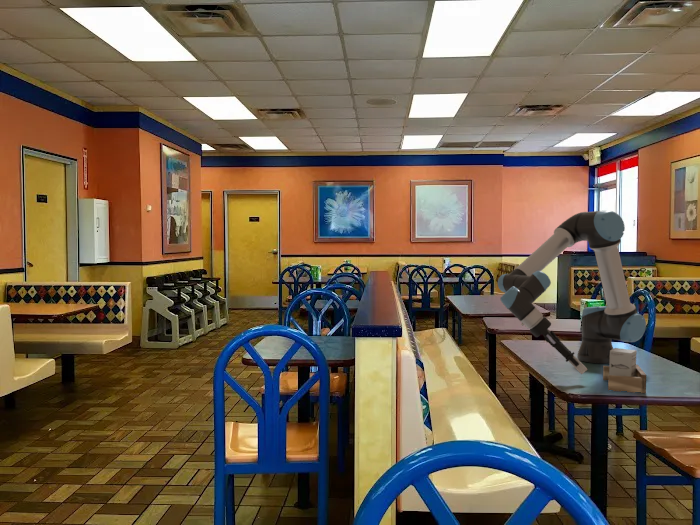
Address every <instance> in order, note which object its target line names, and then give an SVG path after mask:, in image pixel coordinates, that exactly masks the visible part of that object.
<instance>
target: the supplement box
mask: <svg viewBox="0 0 700 525" xmlns="http://www.w3.org/2000/svg"><path fill="white" fill-rule="evenodd" d="M637 353H638V352H637V350H635V349H627V348H619V347H613V349H612V350H610V363H608V364H609V365H608V366H609V375H614V376H630V377H636V364H637Z"/></svg>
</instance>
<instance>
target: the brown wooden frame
mask: <svg viewBox="0 0 700 525" xmlns="http://www.w3.org/2000/svg"><path fill="white" fill-rule="evenodd" d="M602 367H603V369H602V373H603V374H602V380H603V381H607V384H608V385H607V390H608V391H609V390H613V391H612V392H621V391H627V392H626V393H635V392H641V393H640V394H647V373H646V372H645V371H644V370H643V369H642V368H641V366H639V364H637V363H636V377H630V376H614V375H609V365H603V366H602Z"/></svg>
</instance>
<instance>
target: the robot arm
mask: <svg viewBox="0 0 700 525" xmlns="http://www.w3.org/2000/svg"><path fill="white" fill-rule="evenodd" d="M625 227H626V226H625V223H624V219H623V217H621V215H620V214H619V213H617V212H615V211H612V210H598V211H597V210H596V211H595V210H594V211H582V212H578V213H576V214H574V215H571V216H570V217H569V218H567V219H566V220H565V221H563V222H562V223H561V224H559V225H558V226H557V227H556V228H555V229H554V230H553V234H552V235H551V236H549V238H548V239H547V240H545V241H544V242H543V243H542V244H541V245H540V246H539V247H537V249H535V250H534V252H532V253H531V254H530V255H529V256H528V257H526V258H525V259H524V260H523V262H521V263H520V264H519V265H518V266H517V267H516V268H514V269H513V270H512V271H511V272H510V273H505V274H500V276H499V278H498V279H497V287H498V289H499V290H500V291H501V292H502V293H504V294H502V295H501V297H500V301H501V303H502V305H504V306H505V308H506V309H507V310H509V312H510V313H511V314H512V315H513V316H514V317H515V318H517V320H518V321H519V322H521V324H520V325H521V326H524V327H525V328H527V329H528V330H529V332H530V333H531V334H532V335H533V336H534V337H535V338H538V337H540V336H541V335H542V336H543V340H544V341H545V342H546V343H548V344H549V345H550V346H551V347H552V348H554V349H555V350H556V351H557V352H558V353H559V354H560V355H561V356H563V358H564V359H565V362H567V363H568V362H569V364H571V366H573V368H575V370H577V371H578V372H579V373H580V374H581V375H583V374H584V373H585V372H587V371H588V368H587V367H586V365H584V364H583V363H582V362H585V363H590V364H591V363H592V364H599V365H600V364H603V365H605V364H609V363H610V350H612V349H614V346H613V342H612V340H615V341H620V342H623V343H635V342H637V341H640V339H641V338H642V337H643V336H644V334H645V331H646V329H647V322H646V321H647V320H646V318H645V316H643V315H642V314H640V313H638V312H637V308H636V305H635V304H633V303H631V299H630V297H629V296H630V295H629V291H628V286H627V283H626V278H625V273H624V269H623V265H622V260H621V256H620V252H619V251H620V250H619V245H620V244H621V243H622V241H621V240H622V238H623V237H624V234H625V233H624V232H625V231H626V228H625ZM583 241H585V242H586V241H587V243H588V248H589V249H590V250H592V251H594V254H595V260H596V263H597V268H598V273H599V278H600V280H601V281H600V282H601V285H602V289H603V294H604V299H605V302H606V303H605V304H606V306H603V305H602V306H588V307H587V306H586V307H584V308H583V309H582V313H581V314H582V315H581V343H580V346H579V348H578V352H577V357H576V356H575V352H574V351H573V352H572V351H571V350H569V349H568V348H567V346H566V345H565V344H564V343H563V341H561V340H560V338H559V337H558V335H556V333H555V332H554V331H553V330H551V331H550V330H549V328H550V327H551V326H552V322H551V321H550V320H549V319H548V318H547V317H545V316H544V314H543V313H542V312H541V311H540V310H539V309H538V308H537V307H536V306H535V305H534V304H533V303H534V302H535V301H536V300H537V299H539V297H540V296H542V295H543V294H544V293H545V292H546V291H547V289H548V288H549V287H550V286H551V283H552V282H551V281H552V280H551V279H550V277H549V276H548V274H546V273H545V272H543V271H544V269H545V268H546V267H548V265H549V264H551V263H552V262H553V261H554V260H555V259H556V258H557V257H558V256H559V255H560V254H562V252H564V251H565V250H566V249H567V248H572V247H574V245H575V244H577V243H579V242H583Z"/></svg>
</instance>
